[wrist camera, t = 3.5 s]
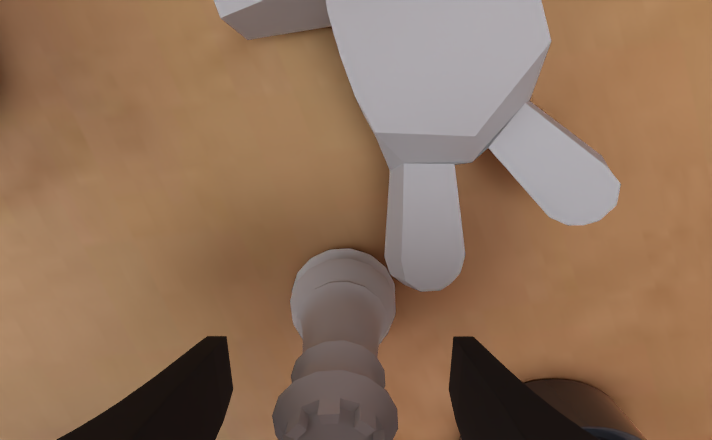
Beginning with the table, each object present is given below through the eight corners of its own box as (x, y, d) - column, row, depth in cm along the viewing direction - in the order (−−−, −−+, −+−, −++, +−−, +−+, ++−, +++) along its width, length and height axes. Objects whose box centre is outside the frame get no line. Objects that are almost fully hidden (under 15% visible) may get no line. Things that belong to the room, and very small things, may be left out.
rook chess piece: (289, 328, 17) (235, 514, 9) (297, 237, 16) (241, 367, 8) (386, 339, 17) (410, 531, 9) (402, 250, 16) (446, 389, 8)
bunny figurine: (490, -530, 7) (731, 200, 9) (442, -242, 12) (604, 180, 14) (80, -220, 8) (382, 348, 10) (194, -80, 13) (380, 281, 15)
